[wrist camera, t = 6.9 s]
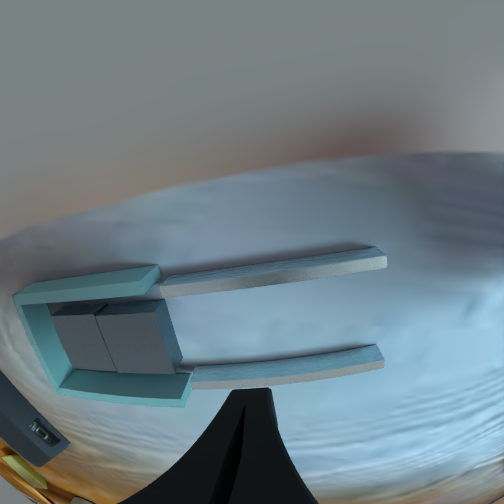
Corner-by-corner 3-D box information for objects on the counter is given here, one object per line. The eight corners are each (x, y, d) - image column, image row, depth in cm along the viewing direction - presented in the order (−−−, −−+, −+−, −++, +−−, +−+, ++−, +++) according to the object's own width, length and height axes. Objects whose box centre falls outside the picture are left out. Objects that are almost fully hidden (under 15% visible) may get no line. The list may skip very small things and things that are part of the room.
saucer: (5, 450, 29) (0, 456, 27) (15, 448, 28) (10, 455, 26) (37, 480, 31) (33, 487, 29) (52, 482, 29) (48, 489, 27)
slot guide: (376, 246, 14) (386, 255, 13) (376, 352, 16) (383, 367, 14) (169, 275, 16) (159, 286, 14) (198, 373, 17) (192, 389, 16)
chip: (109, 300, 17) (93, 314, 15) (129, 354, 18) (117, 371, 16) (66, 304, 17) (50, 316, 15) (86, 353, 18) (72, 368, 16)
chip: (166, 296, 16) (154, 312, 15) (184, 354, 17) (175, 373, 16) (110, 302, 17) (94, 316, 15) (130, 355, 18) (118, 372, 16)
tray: (158, 264, 16) (139, 281, 13) (193, 381, 18) (184, 407, 15) (33, 282, 17) (11, 295, 14) (72, 375, 19) (56, 393, 16)
